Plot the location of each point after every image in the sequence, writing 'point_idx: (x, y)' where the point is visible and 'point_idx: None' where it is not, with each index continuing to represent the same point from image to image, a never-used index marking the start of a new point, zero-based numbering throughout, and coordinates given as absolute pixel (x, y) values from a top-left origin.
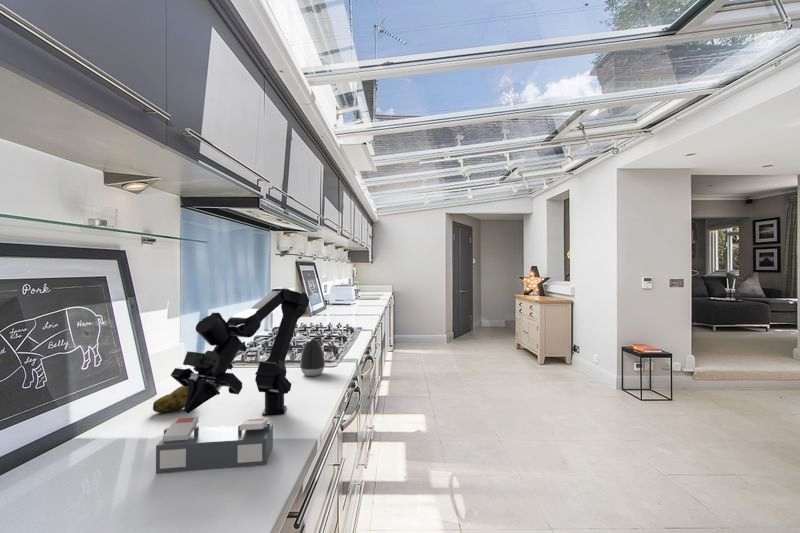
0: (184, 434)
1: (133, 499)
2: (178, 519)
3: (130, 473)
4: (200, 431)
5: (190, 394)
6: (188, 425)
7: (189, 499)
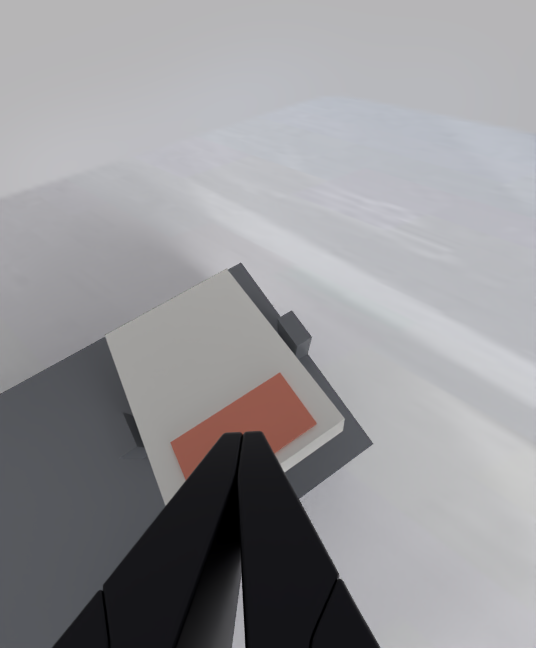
0: (123, 329)
1: (181, 218)
2: (3, 215)
3: (332, 287)
4: (160, 495)
5: (282, 640)
6: (163, 399)
7: (30, 271)
